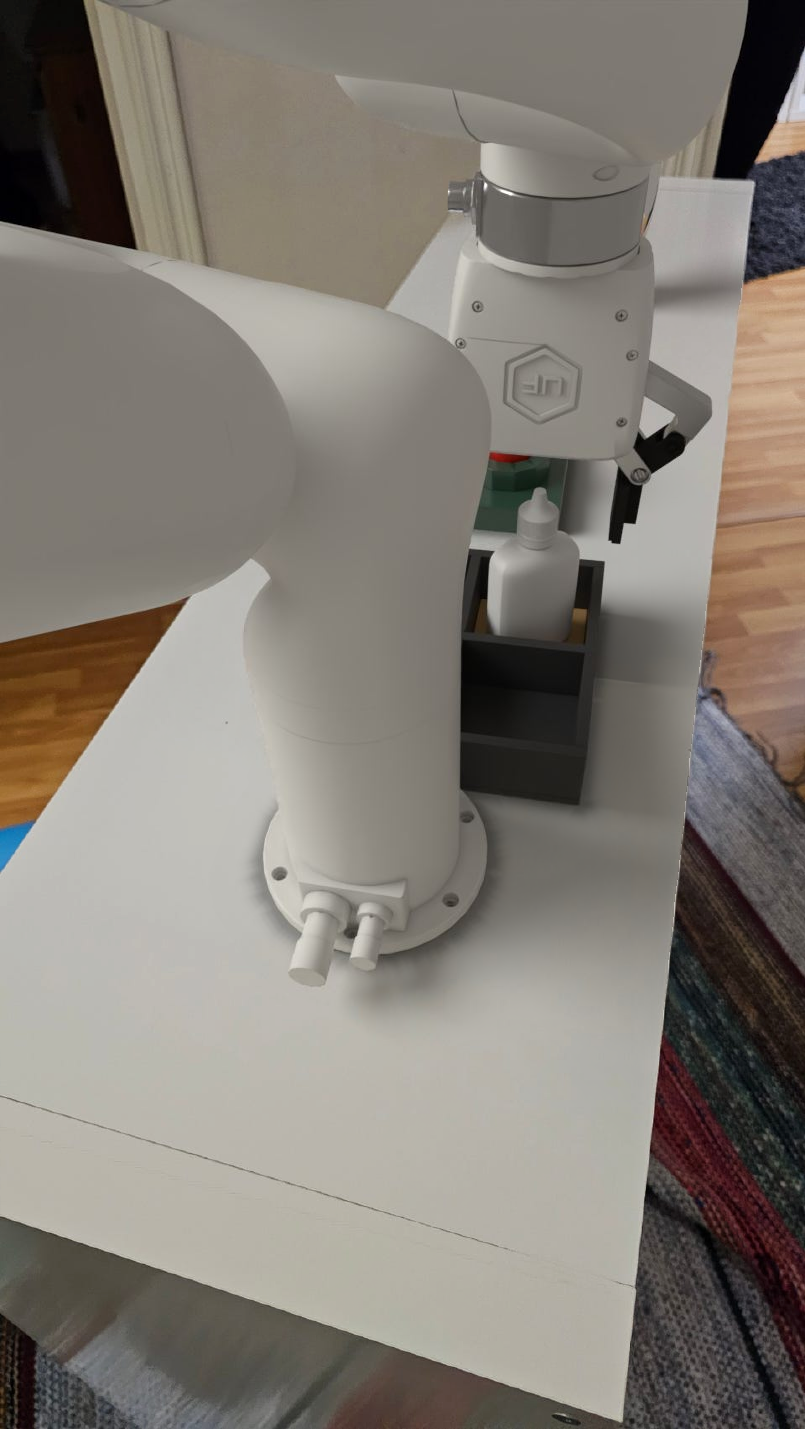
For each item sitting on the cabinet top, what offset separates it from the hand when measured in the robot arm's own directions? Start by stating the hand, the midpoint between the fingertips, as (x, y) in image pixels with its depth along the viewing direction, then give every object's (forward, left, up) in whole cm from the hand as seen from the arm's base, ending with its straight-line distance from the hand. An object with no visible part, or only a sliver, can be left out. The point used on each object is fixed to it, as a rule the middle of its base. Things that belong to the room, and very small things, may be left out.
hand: (532, 521), depth 57 cm
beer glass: (+53, -3, -11) cm, 54 cm away
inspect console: (+19, +3, -11) cm, 22 cm away
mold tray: (-3, +4, -11) cm, 12 cm away
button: (+19, +3, -7) cm, 20 cm away
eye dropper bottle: (+1, 0, -11) cm, 10 cm away
